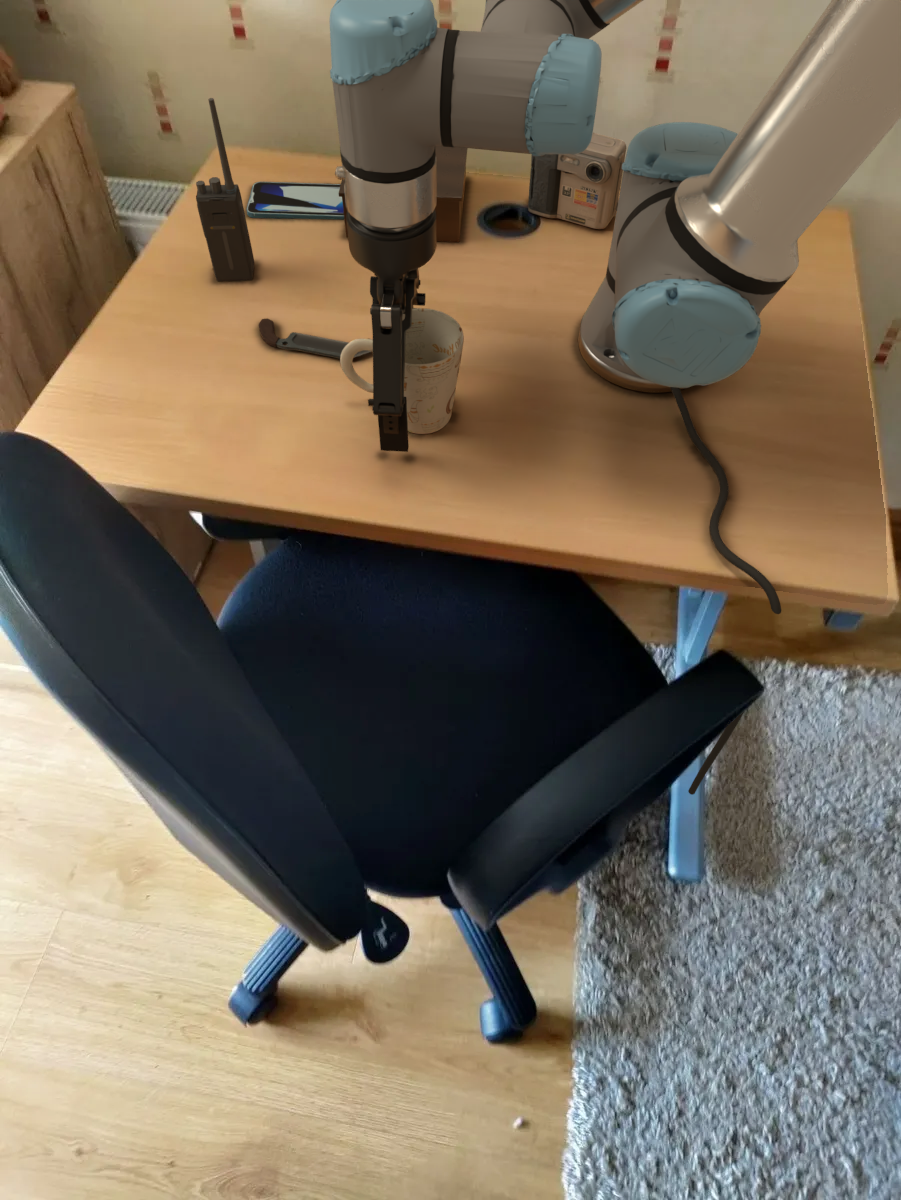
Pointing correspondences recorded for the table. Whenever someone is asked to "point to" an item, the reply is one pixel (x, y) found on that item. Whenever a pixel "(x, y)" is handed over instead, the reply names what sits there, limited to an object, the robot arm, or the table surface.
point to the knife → (304, 342)
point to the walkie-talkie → (225, 219)
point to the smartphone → (295, 201)
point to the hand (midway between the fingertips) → (401, 403)
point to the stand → (443, 192)
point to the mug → (422, 368)
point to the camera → (579, 183)
